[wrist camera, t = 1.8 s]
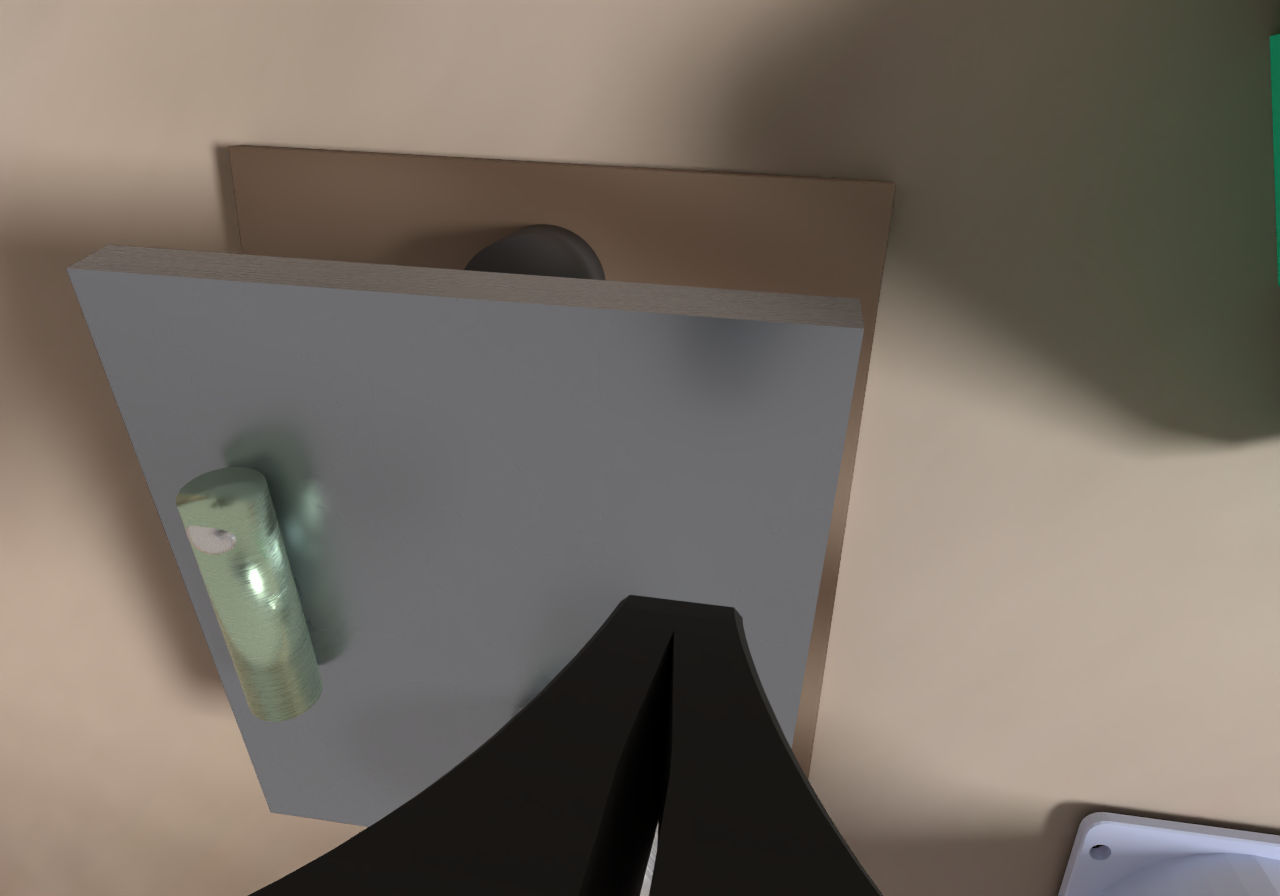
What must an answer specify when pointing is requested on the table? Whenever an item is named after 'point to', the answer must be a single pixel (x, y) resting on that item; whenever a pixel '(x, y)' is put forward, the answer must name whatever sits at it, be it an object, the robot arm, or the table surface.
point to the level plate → (462, 487)
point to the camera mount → (1276, 130)
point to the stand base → (620, 224)
